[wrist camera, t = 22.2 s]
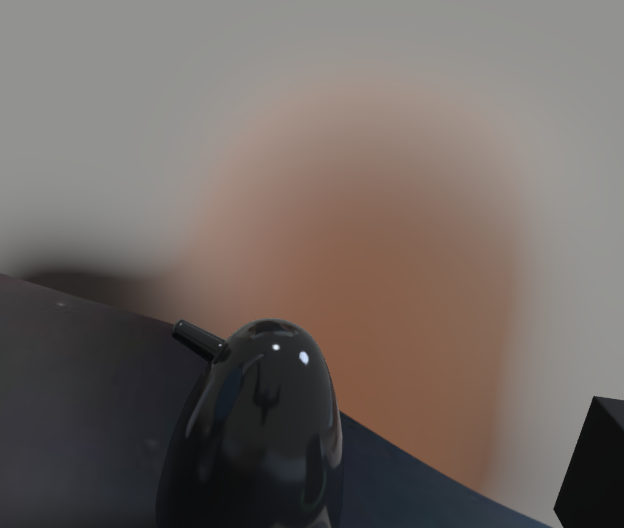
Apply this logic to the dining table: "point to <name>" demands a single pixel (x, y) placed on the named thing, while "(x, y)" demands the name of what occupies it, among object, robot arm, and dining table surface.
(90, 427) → the dining table surface
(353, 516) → the dining table surface
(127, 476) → the dining table surface
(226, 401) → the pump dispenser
